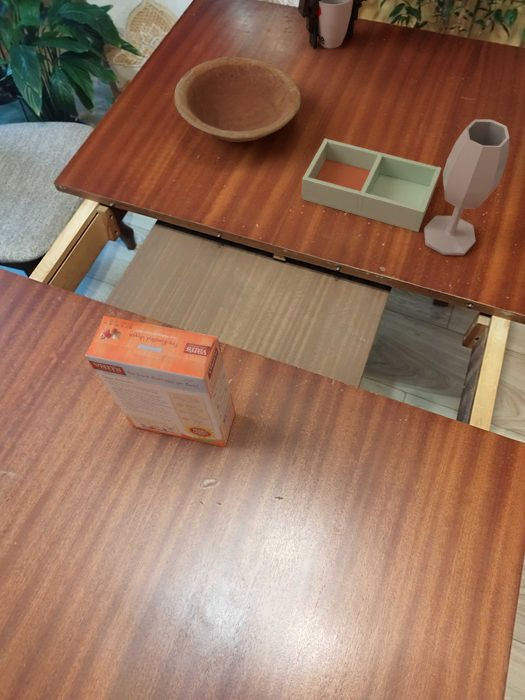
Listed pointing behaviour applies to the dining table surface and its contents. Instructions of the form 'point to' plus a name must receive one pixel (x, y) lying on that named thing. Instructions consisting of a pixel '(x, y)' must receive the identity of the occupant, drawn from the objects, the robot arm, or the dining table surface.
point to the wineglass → (468, 183)
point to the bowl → (237, 98)
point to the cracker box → (165, 379)
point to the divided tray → (370, 184)
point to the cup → (333, 21)
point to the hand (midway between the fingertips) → (330, 40)
